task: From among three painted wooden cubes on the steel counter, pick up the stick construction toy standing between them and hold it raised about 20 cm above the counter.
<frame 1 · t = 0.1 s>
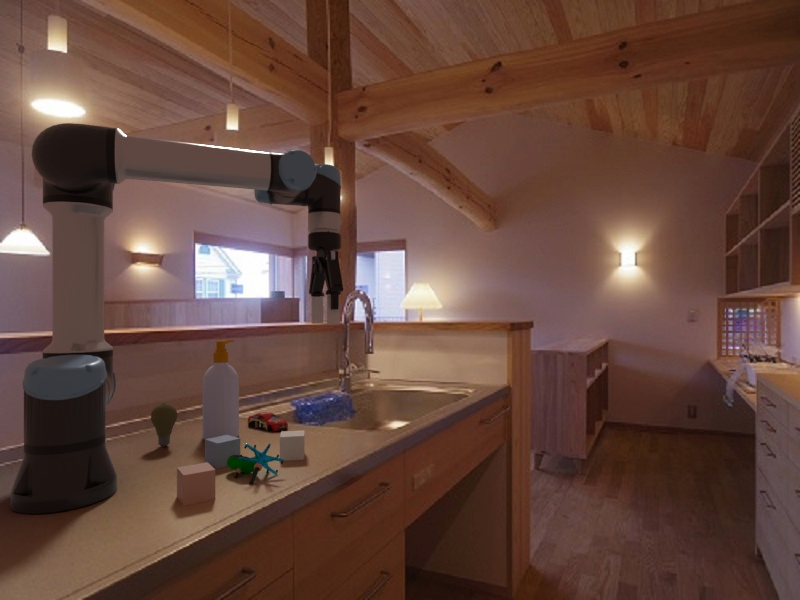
hand: (325, 324, 120), 28 cm above the worktop, fingers open, 13 cm apart
light bulb: (164, 447, 119), on the worktop
slate blue cube: (222, 463, 106), on the worktop
race car: (267, 429, 137), on the worktop
cream cube: (292, 457, 110), on the worktop
stick construction toy: (250, 479, 97), on the worktop
soap bottle: (221, 437, 128), on the worktop
terracotta cube: (196, 498, 86), on the worktop
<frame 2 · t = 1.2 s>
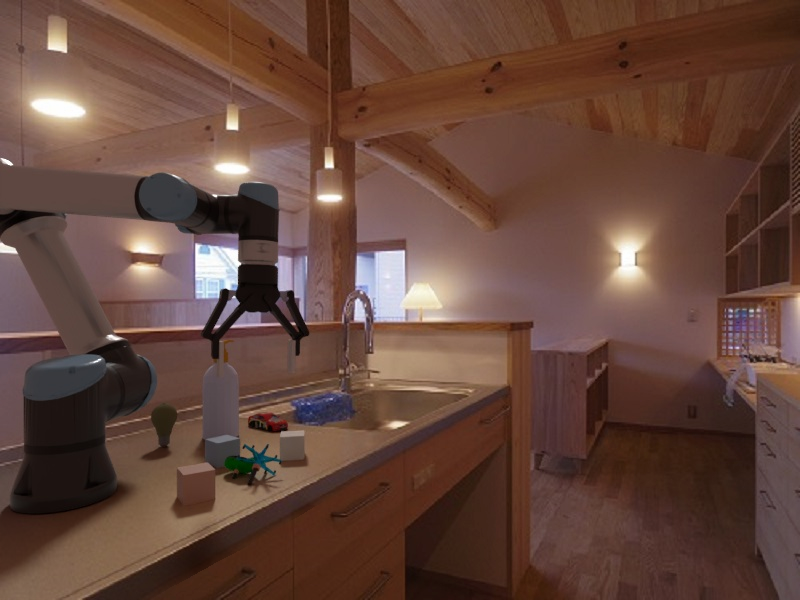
hand: (256, 374, 99), 19 cm above the worktop, fingers open, 13 cm apart
nothing on the worktop moved.
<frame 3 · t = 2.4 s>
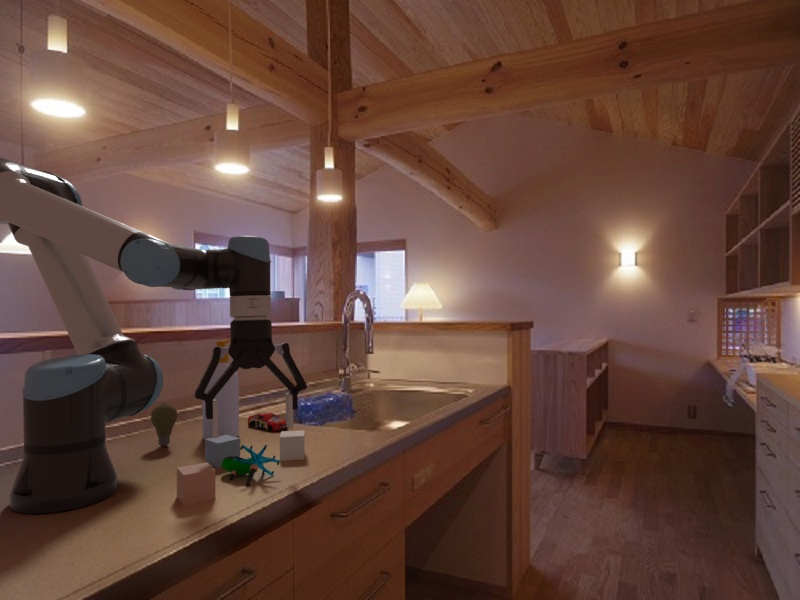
hand: (253, 432, 97), 8 cm above the worktop, fingers open, 13 cm apart
nothing on the worktop moved.
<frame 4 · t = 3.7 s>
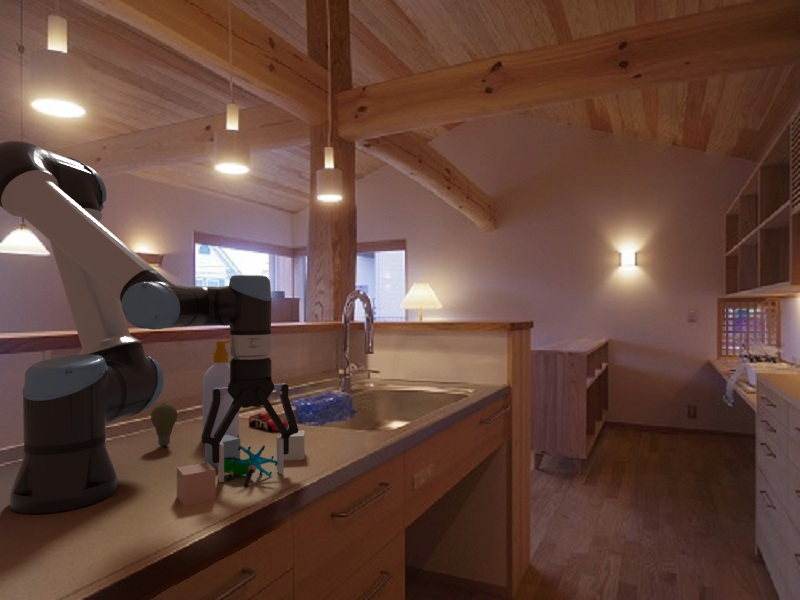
hand: (251, 475, 97), 0 cm above the worktop, fingers open, 10 cm apart
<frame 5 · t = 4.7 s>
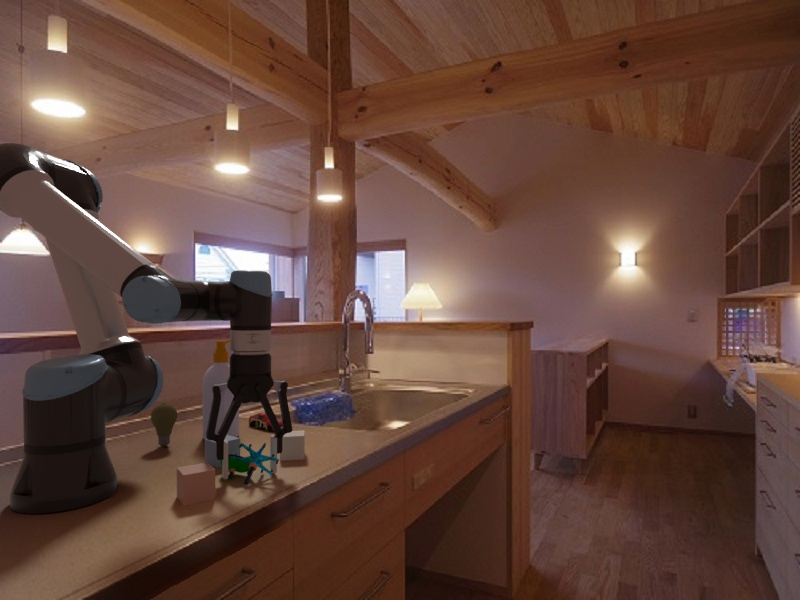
hand: (249, 473, 97), 1 cm above the worktop, fingers closed on stick construction toy, 8 cm apart
stick construction toy: (244, 479, 95), on the worktop, touching gripper
everything else where it was.
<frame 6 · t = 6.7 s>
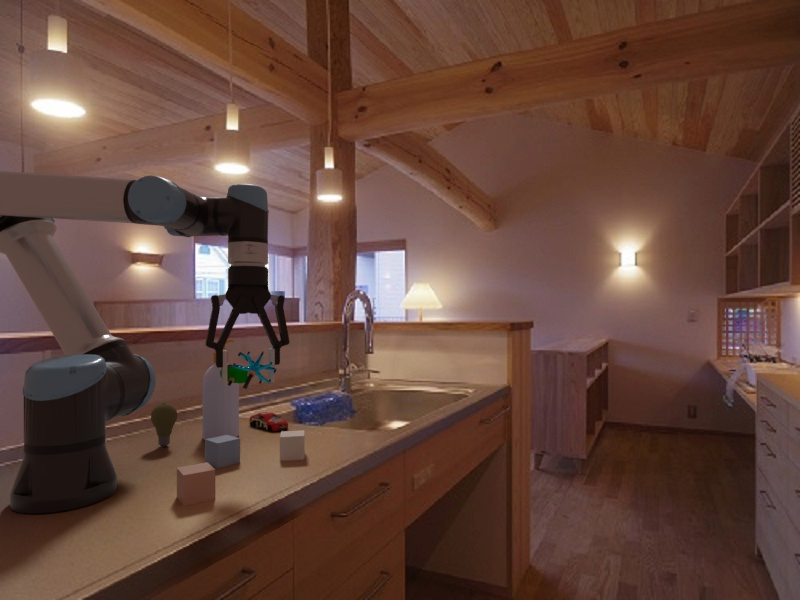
hand: (248, 383, 100), 17 cm above the worktop, fingers closed on stick construction toy, 8 cm apart
stick construction toy: (243, 387, 98), point 17 cm above the worktop, touching gripper
everything else where it was.
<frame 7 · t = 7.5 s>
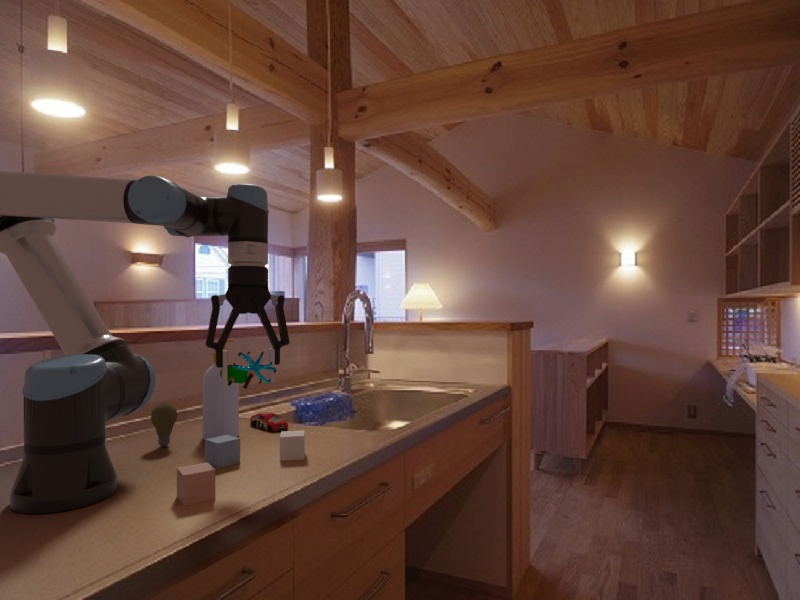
hand: (248, 383, 100), 17 cm above the worktop, fingers closed on stick construction toy, 8 cm apart
stick construction toy: (243, 387, 98), point 17 cm above the worktop, touching gripper
everything else where it was.
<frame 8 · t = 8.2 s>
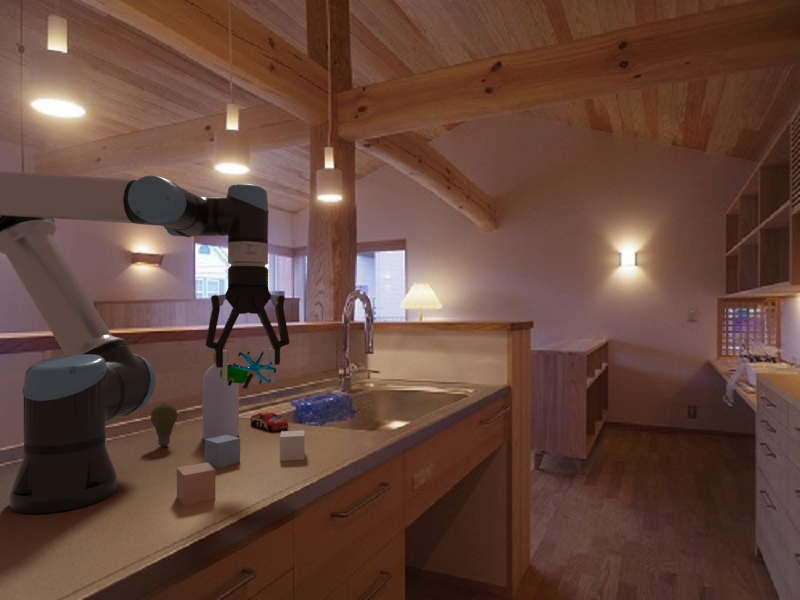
hand: (248, 383, 100), 17 cm above the worktop, fingers closed on stick construction toy, 8 cm apart
stick construction toy: (243, 387, 98), point 17 cm above the worktop, touching gripper
everything else where it was.
at the end: the gripper is holding stick construction toy; stick construction toy point 16.7 cm above the worktop; cream cube moved 0.1 cm from its start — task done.
